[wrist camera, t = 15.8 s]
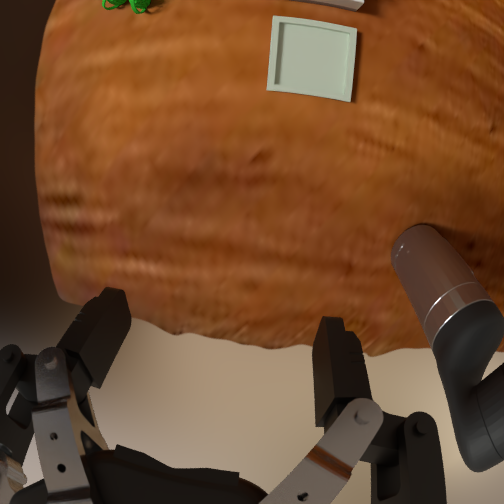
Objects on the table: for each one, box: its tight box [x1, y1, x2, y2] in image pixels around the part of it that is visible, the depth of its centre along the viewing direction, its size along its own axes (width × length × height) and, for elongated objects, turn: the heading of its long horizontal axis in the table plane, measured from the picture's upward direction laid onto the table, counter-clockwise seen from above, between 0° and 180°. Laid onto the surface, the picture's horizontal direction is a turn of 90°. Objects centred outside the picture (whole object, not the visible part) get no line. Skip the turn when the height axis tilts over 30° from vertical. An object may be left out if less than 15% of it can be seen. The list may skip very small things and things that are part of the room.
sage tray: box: [267, 16, 357, 102], centre depth 27 cm, size 10×10×1 cm
